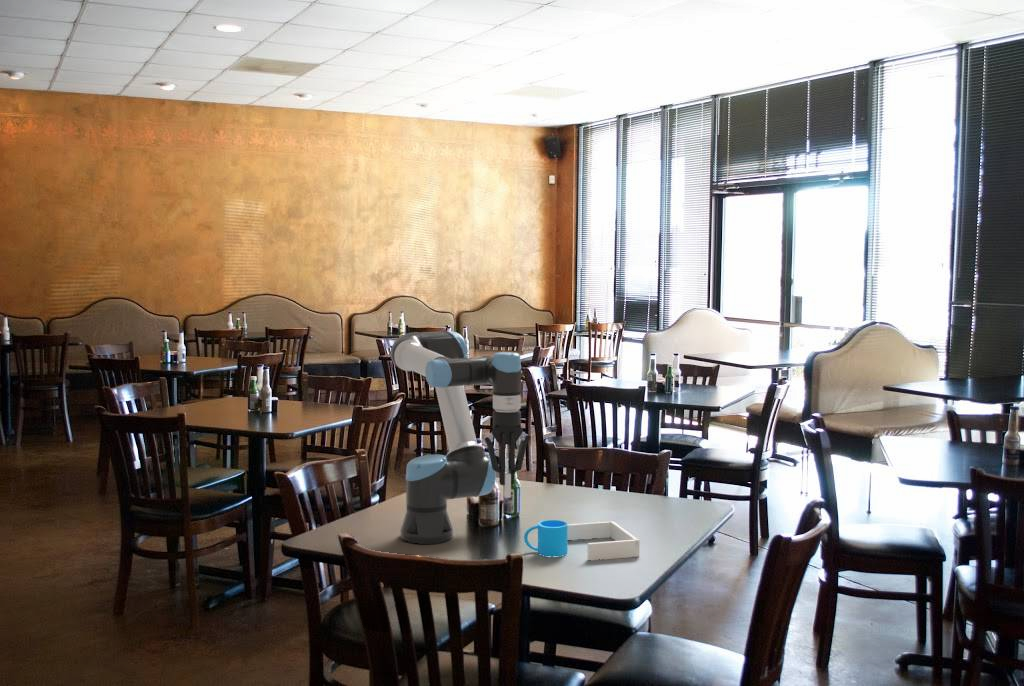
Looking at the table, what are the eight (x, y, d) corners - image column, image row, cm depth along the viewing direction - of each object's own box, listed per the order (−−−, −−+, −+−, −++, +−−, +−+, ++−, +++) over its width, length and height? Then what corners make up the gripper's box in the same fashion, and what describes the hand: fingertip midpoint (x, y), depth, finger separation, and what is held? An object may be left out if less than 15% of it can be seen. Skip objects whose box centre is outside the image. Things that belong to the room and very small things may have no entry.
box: (588, 560, 256) (588, 544, 256) (565, 539, 275) (565, 524, 275) (639, 556, 260) (639, 540, 259) (613, 536, 279) (613, 521, 279)
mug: (568, 549, 266) (568, 520, 266) (566, 558, 258) (566, 528, 258) (525, 547, 268) (525, 518, 268) (521, 556, 260) (522, 526, 260)
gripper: (486, 413, 252) (486, 501, 254) (534, 411, 255) (534, 498, 257) (479, 409, 259) (480, 494, 261) (526, 407, 263) (526, 491, 264)
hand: (506, 496), depth 259 cm, fingers closed
